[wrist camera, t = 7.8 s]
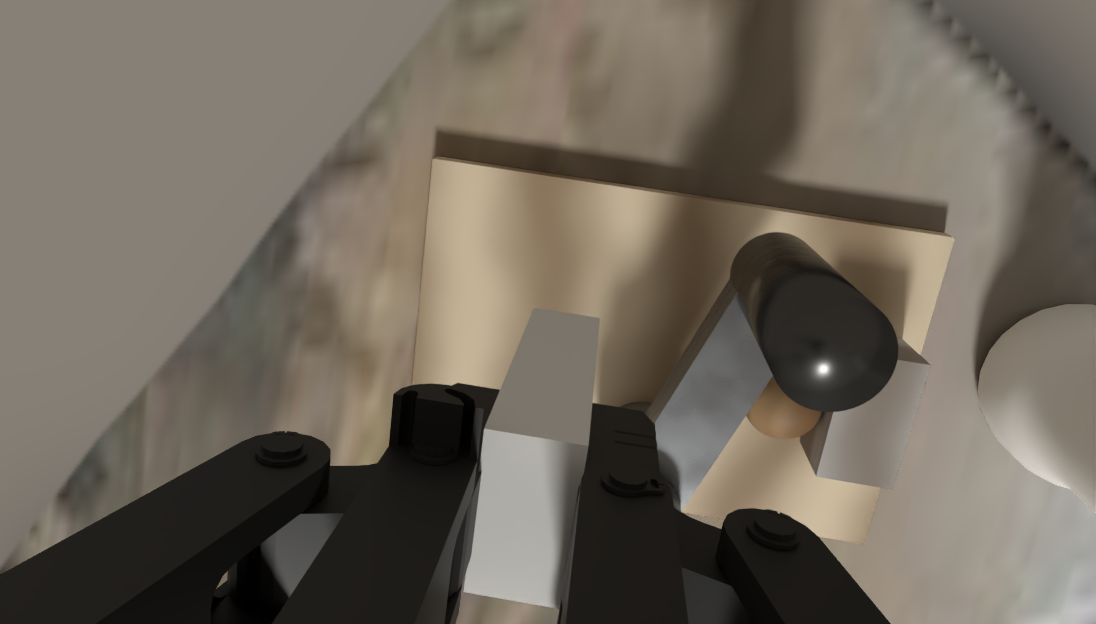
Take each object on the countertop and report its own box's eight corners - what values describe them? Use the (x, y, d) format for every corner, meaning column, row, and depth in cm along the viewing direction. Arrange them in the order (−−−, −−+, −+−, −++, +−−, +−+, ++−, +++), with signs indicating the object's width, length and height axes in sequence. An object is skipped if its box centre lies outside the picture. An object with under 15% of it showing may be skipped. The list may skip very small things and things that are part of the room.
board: (411, 452, 42) (383, 497, 37) (438, 156, 37) (411, 165, 33) (857, 531, 40) (885, 588, 36) (944, 232, 36) (990, 254, 31)
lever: (590, 460, 39) (568, 643, 26) (747, 203, 35) (814, 272, 22) (661, 497, 39) (674, 698, 26) (826, 247, 35) (939, 341, 22)
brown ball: (719, 413, 37) (762, 459, 34) (738, 349, 36) (785, 391, 33) (780, 406, 39) (826, 451, 36) (800, 344, 37) (850, 385, 34)
